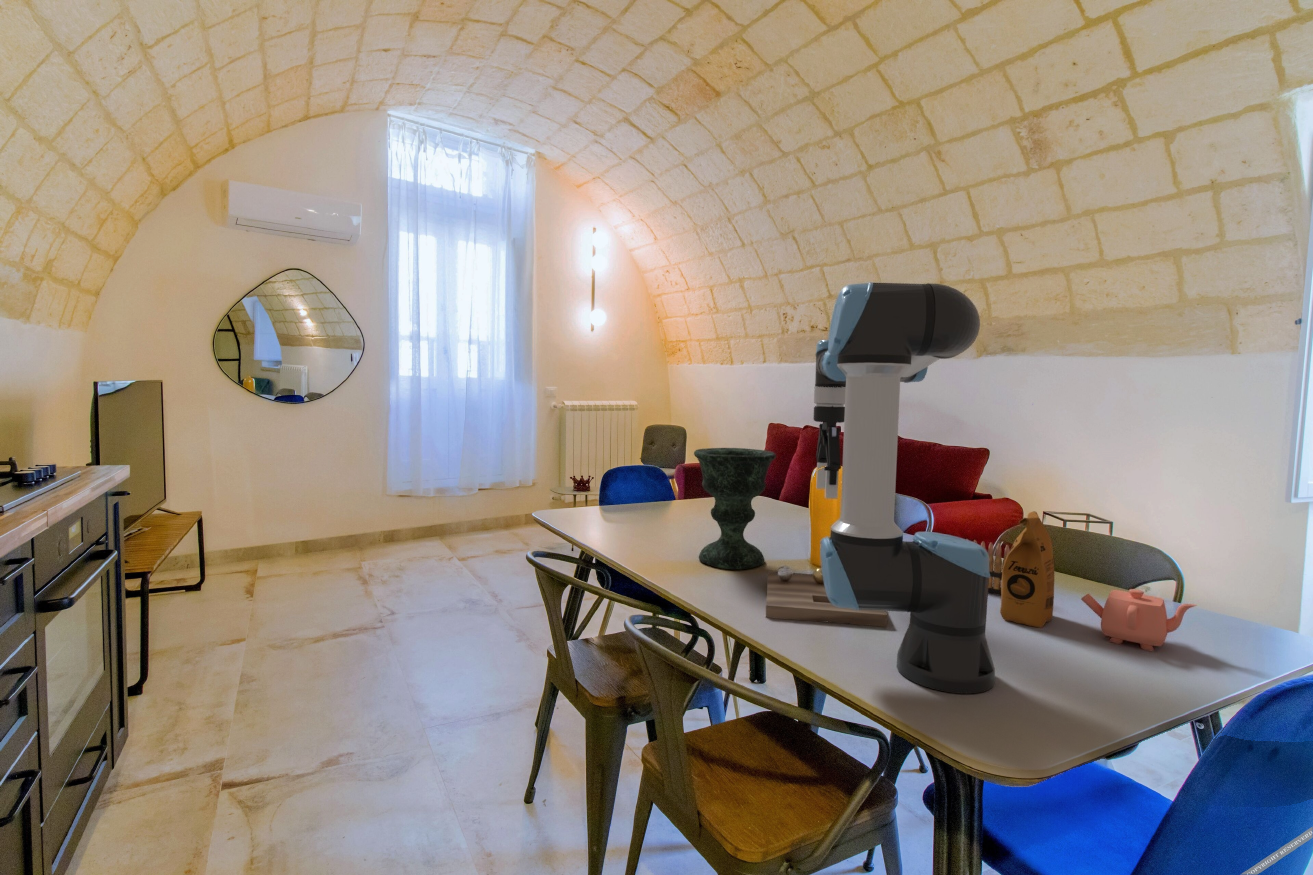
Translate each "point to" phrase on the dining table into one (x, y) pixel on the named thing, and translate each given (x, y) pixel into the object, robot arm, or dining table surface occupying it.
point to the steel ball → (785, 573)
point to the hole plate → (812, 603)
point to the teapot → (1136, 617)
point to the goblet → (733, 502)
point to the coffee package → (1029, 576)
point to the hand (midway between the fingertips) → (826, 493)
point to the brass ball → (818, 575)
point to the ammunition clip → (995, 567)
